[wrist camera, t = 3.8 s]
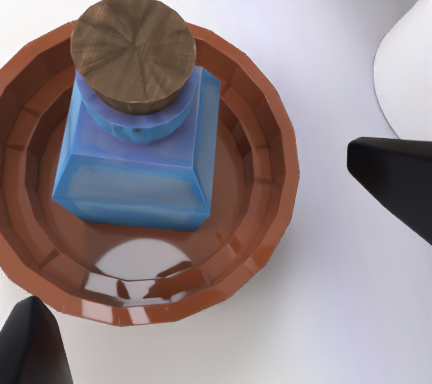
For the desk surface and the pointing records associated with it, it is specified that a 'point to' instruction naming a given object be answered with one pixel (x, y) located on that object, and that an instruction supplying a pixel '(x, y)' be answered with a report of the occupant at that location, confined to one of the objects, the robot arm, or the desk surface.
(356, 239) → the desk surface
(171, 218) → the perfume bottle
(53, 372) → the robot arm
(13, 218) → the bowl
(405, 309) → the desk surface
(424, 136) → the canister
